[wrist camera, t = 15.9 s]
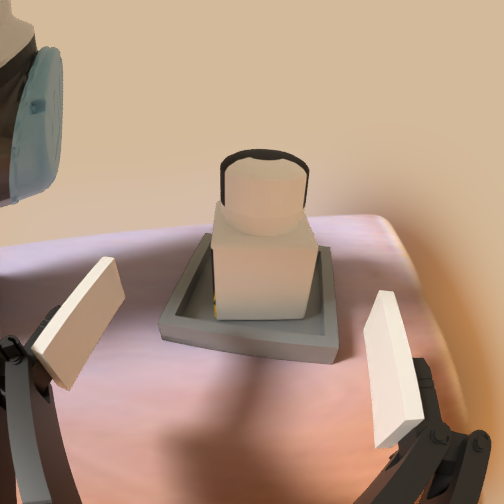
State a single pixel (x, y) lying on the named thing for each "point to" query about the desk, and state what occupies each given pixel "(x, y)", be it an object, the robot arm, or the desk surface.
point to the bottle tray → (252, 331)
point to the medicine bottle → (262, 238)
